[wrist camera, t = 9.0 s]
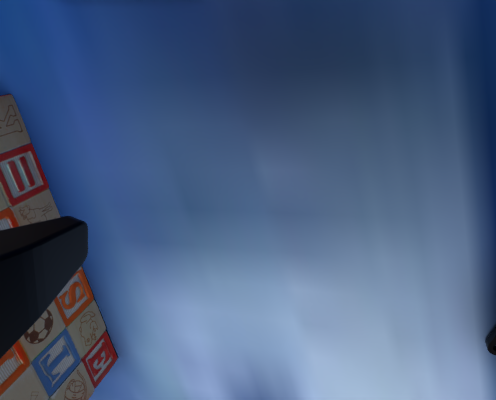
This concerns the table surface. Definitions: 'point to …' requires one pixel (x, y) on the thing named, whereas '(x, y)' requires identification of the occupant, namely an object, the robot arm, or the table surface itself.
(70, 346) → the stack of blocks
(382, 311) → the table surface
